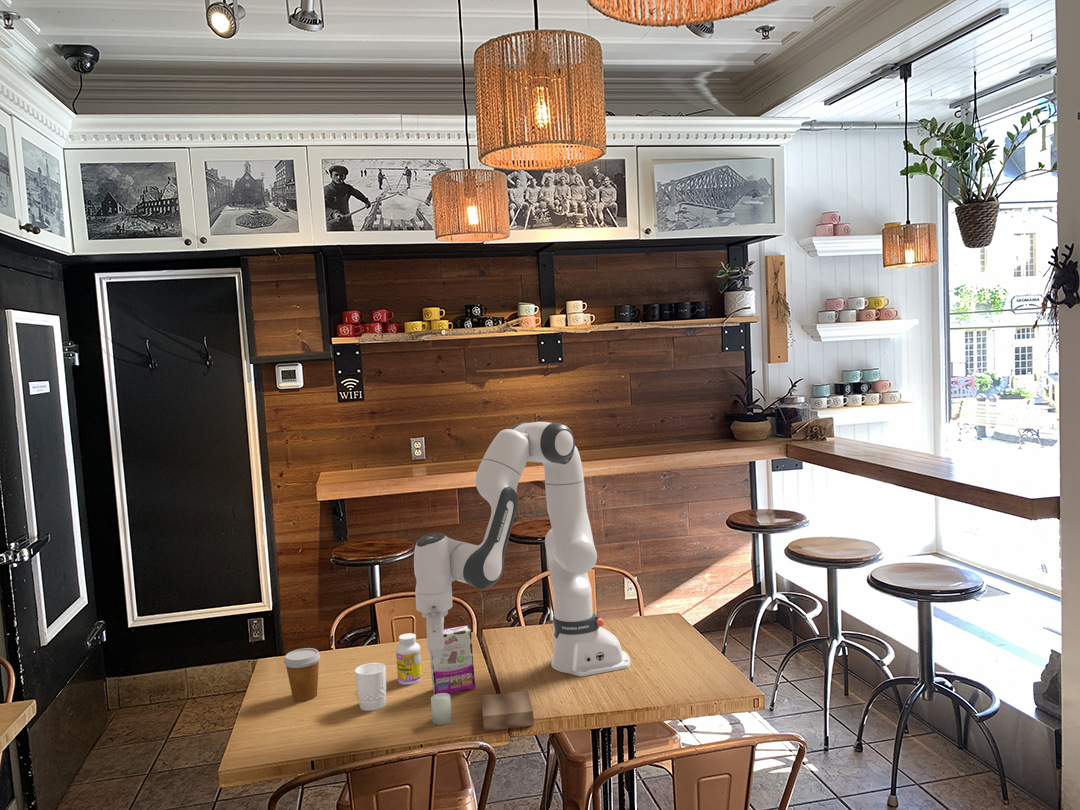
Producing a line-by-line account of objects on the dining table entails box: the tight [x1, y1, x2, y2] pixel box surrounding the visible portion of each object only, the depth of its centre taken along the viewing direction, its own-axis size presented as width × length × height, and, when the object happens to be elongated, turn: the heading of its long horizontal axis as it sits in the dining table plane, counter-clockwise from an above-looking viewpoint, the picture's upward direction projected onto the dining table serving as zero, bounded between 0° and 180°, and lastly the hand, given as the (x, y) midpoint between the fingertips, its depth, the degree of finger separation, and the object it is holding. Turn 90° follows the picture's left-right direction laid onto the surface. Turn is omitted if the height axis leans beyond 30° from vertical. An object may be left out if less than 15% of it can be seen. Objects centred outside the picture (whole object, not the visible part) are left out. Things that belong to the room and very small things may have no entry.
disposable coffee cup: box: [283, 647, 321, 702], centre depth 220 cm, size 10×10×12 cm
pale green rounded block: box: [430, 693, 453, 726], centre depth 201 cm, size 5×5×6 cm
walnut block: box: [480, 690, 535, 732], centre depth 201 cm, size 12×12×4 cm
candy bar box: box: [429, 625, 476, 695], centre depth 219 cm, size 11×5×16 cm, turn 106°
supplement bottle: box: [395, 632, 423, 686], centre depth 227 cm, size 7×7×13 cm
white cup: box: [354, 662, 387, 712], centre depth 212 cm, size 8×8×10 cm
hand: (437, 656), depth 200 cm, fingers open, 8 cm apart
